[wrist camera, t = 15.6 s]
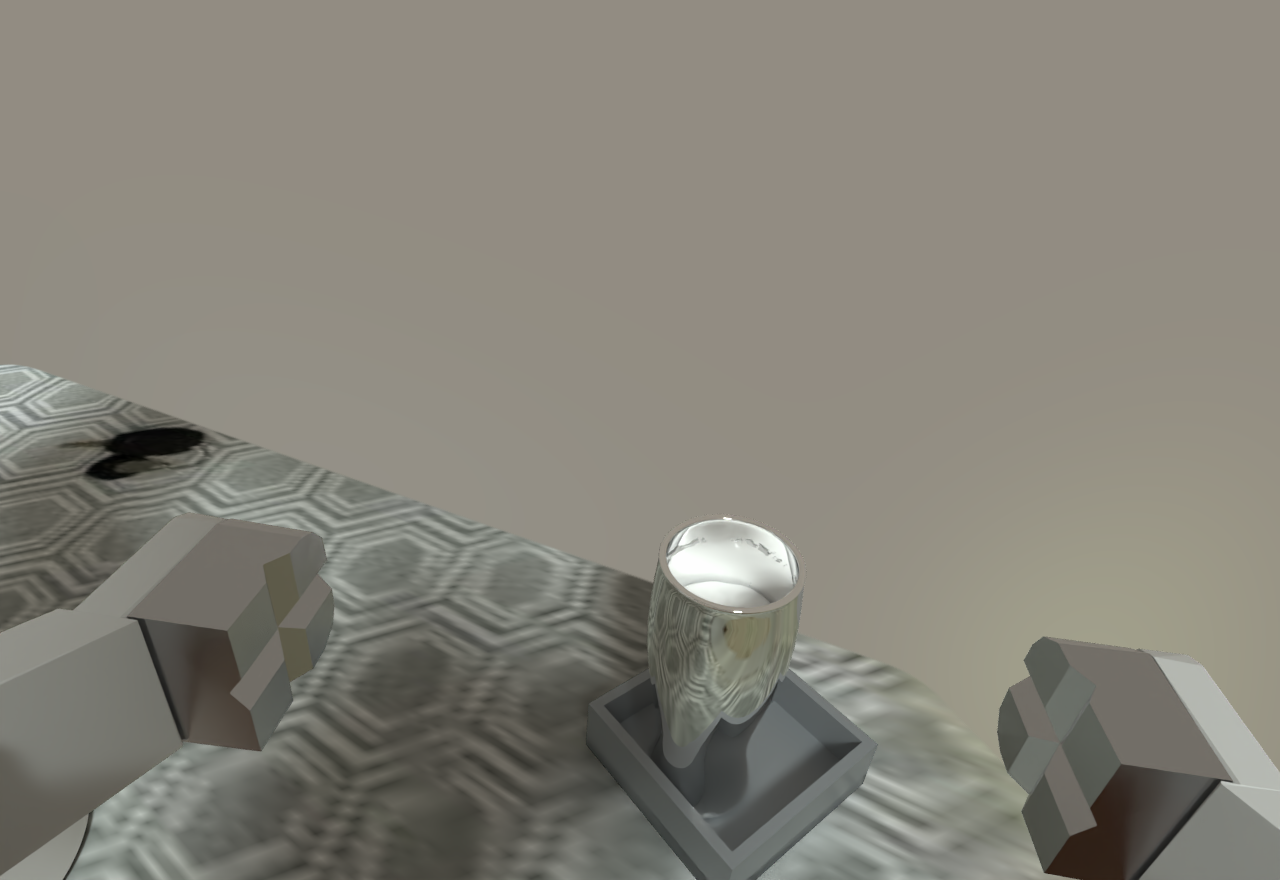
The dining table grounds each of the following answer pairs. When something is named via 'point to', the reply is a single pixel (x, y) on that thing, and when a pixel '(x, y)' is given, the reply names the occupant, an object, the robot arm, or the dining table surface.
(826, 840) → the dining table surface
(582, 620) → the dining table surface
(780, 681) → the silver tall rounded piece
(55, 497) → the dining table surface
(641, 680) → the box
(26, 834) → the robot arm
